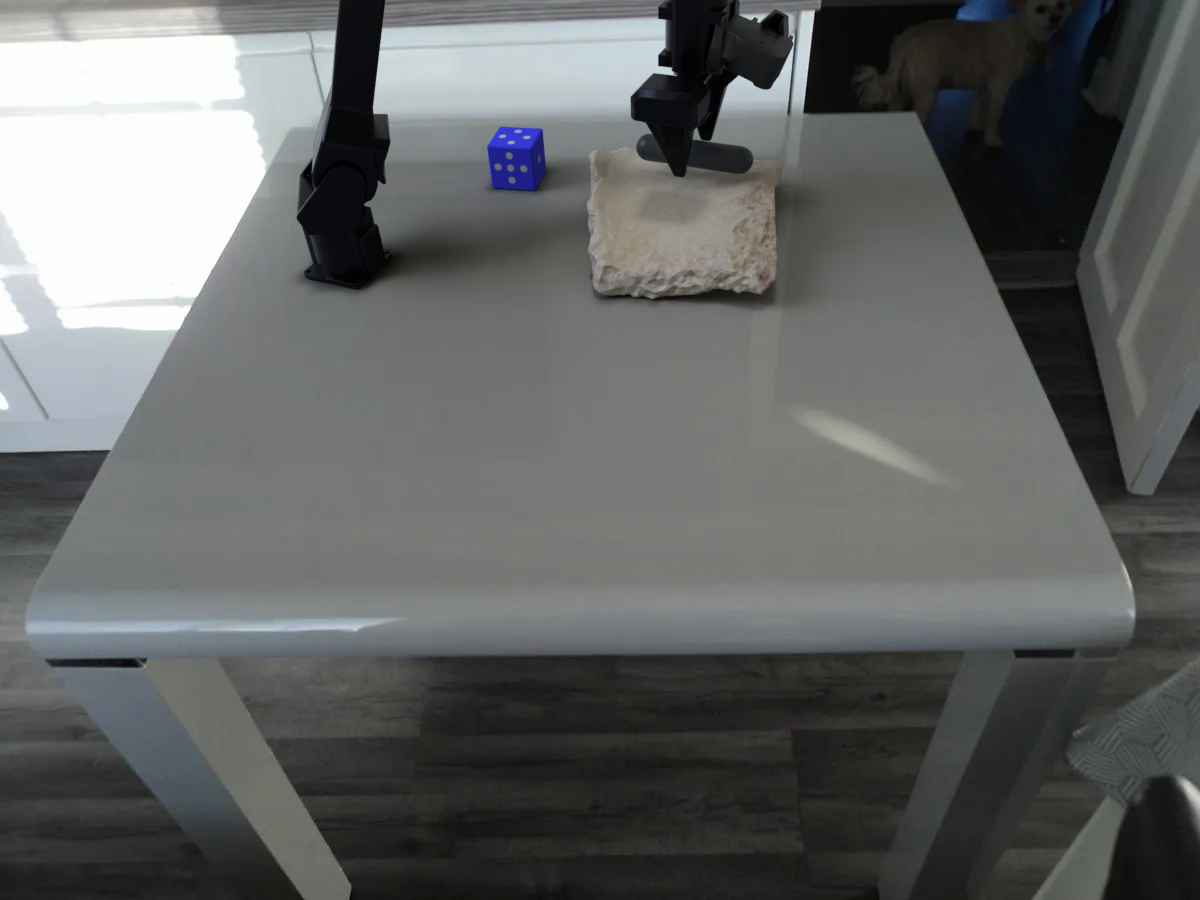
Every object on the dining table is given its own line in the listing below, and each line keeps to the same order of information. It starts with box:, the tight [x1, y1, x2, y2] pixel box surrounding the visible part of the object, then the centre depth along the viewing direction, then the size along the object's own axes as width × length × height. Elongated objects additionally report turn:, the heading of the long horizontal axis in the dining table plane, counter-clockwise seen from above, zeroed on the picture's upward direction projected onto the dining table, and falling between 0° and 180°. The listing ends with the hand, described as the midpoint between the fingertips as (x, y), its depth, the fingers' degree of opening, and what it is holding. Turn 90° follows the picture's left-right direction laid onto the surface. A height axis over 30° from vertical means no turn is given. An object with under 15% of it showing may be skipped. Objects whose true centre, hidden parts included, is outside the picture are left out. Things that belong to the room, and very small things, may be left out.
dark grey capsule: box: [635, 133, 754, 174], centre depth 90 cm, size 12×3×3 cm, turn 67°
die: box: [486, 126, 547, 192], centre depth 101 cm, size 5×5×5 cm
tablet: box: [586, 147, 784, 300], centre depth 89 cm, size 24×8×20 cm
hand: (693, 157), depth 90 cm, fingers open, 8 cm apart
